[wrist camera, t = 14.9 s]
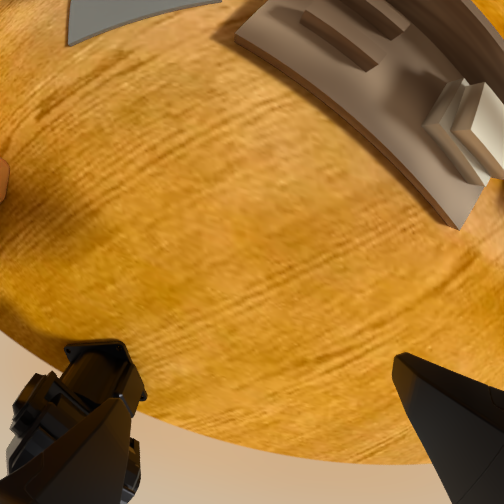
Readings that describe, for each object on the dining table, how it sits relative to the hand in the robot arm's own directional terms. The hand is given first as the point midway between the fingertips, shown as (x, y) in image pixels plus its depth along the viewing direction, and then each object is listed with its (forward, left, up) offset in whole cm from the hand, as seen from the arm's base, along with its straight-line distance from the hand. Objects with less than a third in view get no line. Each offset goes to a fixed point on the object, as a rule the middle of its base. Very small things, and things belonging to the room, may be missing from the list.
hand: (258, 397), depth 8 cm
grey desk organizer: (+13, +12, -13) cm, 23 cm away
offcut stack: (+18, +8, -12) cm, 23 cm away
